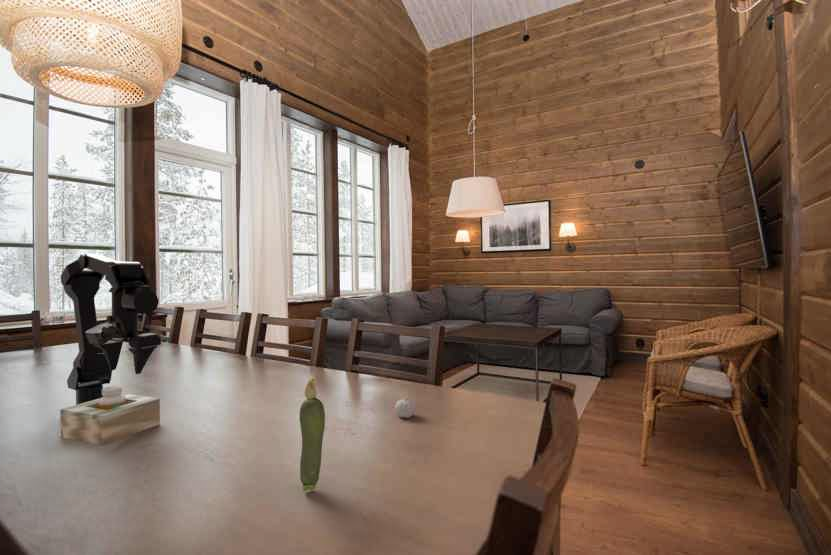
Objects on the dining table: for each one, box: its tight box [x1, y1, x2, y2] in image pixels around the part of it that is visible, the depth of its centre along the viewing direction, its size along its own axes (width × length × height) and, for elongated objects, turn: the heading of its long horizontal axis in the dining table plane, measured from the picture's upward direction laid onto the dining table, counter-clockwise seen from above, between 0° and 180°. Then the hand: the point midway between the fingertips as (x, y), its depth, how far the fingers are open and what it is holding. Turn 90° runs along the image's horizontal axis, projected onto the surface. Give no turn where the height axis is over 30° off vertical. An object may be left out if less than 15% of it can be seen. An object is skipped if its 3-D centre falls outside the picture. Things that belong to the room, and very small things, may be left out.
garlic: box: [394, 397, 416, 419], centre depth 114 cm, size 6×5×5 cm
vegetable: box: [299, 378, 326, 492], centre depth 76 cm, size 4×4×20 cm
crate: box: [59, 392, 161, 446], centre depth 104 cm, size 14×14×6 cm
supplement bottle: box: [98, 385, 126, 410], centre depth 104 cm, size 5×5×10 cm
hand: (125, 371), depth 110 cm, fingers open, 9 cm apart
